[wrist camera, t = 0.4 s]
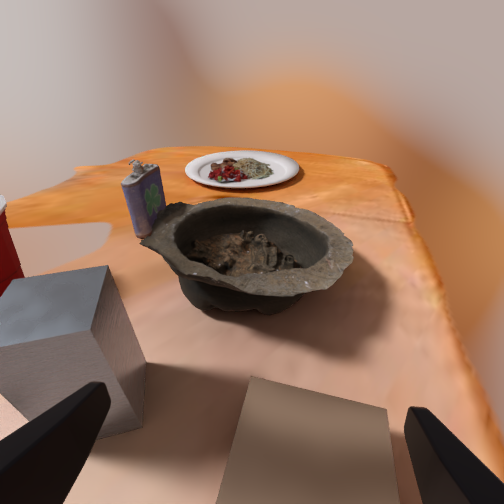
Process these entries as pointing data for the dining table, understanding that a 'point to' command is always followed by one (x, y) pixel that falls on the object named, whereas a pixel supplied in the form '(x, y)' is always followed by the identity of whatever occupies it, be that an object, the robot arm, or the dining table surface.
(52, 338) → the slate tin
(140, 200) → the flask
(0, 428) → the dining table surface
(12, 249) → the plastic cup
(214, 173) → the plated food
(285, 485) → the walnut block
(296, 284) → the stone bowl
